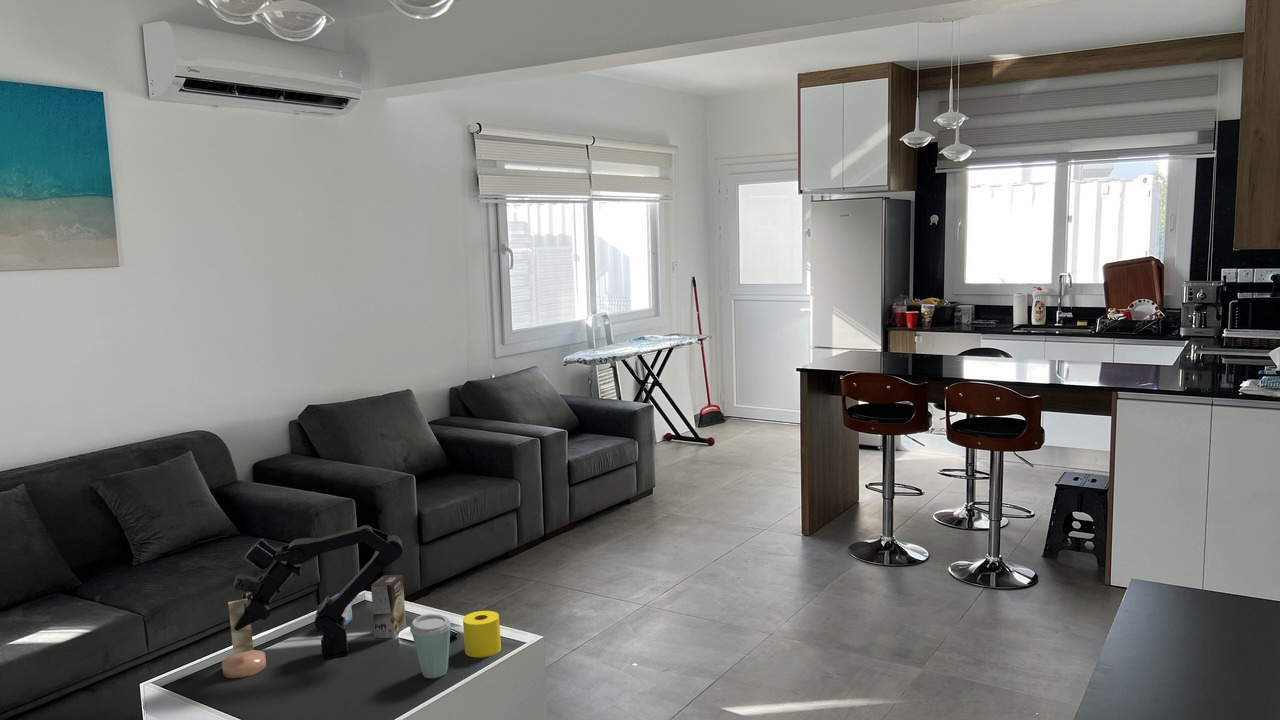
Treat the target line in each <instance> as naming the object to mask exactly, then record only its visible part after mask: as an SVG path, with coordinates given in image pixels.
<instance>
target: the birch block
mask: <svg viewBox="0 0 1280 720" xmlns="http://www.w3.org/2000/svg"><path fill="white" fill-rule="evenodd" d="M247 602H248V599H243V598H242V599H238V600H233V601H228V602H227V604H228V614H229V622H230V632H231V642H232V643H231V644H232V650H233V651H232V652H233V654H237V653H242V652H246V651H251V650H254V643H253V642H254V641H253V634H252V623H251V624H249V625H247V626H245V627H244V628H242V629H240V630H238V631H237V630H235V629H234V628H235V626H236V624H237V623H238V621H239V619H240V618H241V616H242V614H243V613H244V611H245V610H244V603H245V604H247Z"/></svg>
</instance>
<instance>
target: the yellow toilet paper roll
mask: <svg viewBox="0 0 1280 720" xmlns="http://www.w3.org/2000/svg"><path fill="white" fill-rule="evenodd" d="M462 624H463V625H462V627H463V642H464V653H465V655H466V656H468V657H471V658H486V657H491V656H494V655H495V654H498V653H499V652H500V651H501V650H502V641H501V640H502V639H501V627H500V614H499V613H498V612H497V611H491V610H479V611H473V612H470V613H468V614H466V615H465V616H464V617H463V618H462Z"/></svg>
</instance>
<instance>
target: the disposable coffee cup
mask: <svg viewBox="0 0 1280 720" xmlns="http://www.w3.org/2000/svg"><path fill="white" fill-rule="evenodd" d="M451 627H452V622H451V621H450V619H449V618H448V617H447V616H445V615H442V614H439V613H428V614H421V615H420V616H419V615H418V616H416V617H415V618H414V619H413V620H412V622H411V626H410V629H409V632H410V633H411V634H412V635H411V636H412V639H413V641H414V642H413V643H414V647H415V650H416V655H417V659H418V662H419V667H420V671H421V673H422V675H423V677H424V678H427V679H437V678H441V677H443V676H445V675H446V674H447V672H448V669H449V656H450V641H451V640H450V639H451Z"/></svg>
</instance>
